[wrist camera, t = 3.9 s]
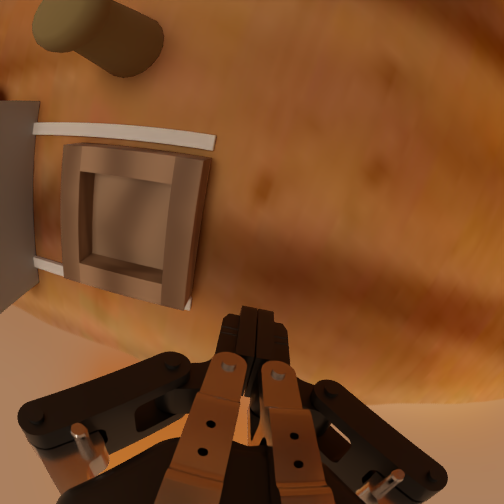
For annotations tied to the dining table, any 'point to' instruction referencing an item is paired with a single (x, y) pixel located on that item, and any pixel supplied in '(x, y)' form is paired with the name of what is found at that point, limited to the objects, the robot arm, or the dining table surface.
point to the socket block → (132, 220)
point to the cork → (99, 34)
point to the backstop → (21, 185)
